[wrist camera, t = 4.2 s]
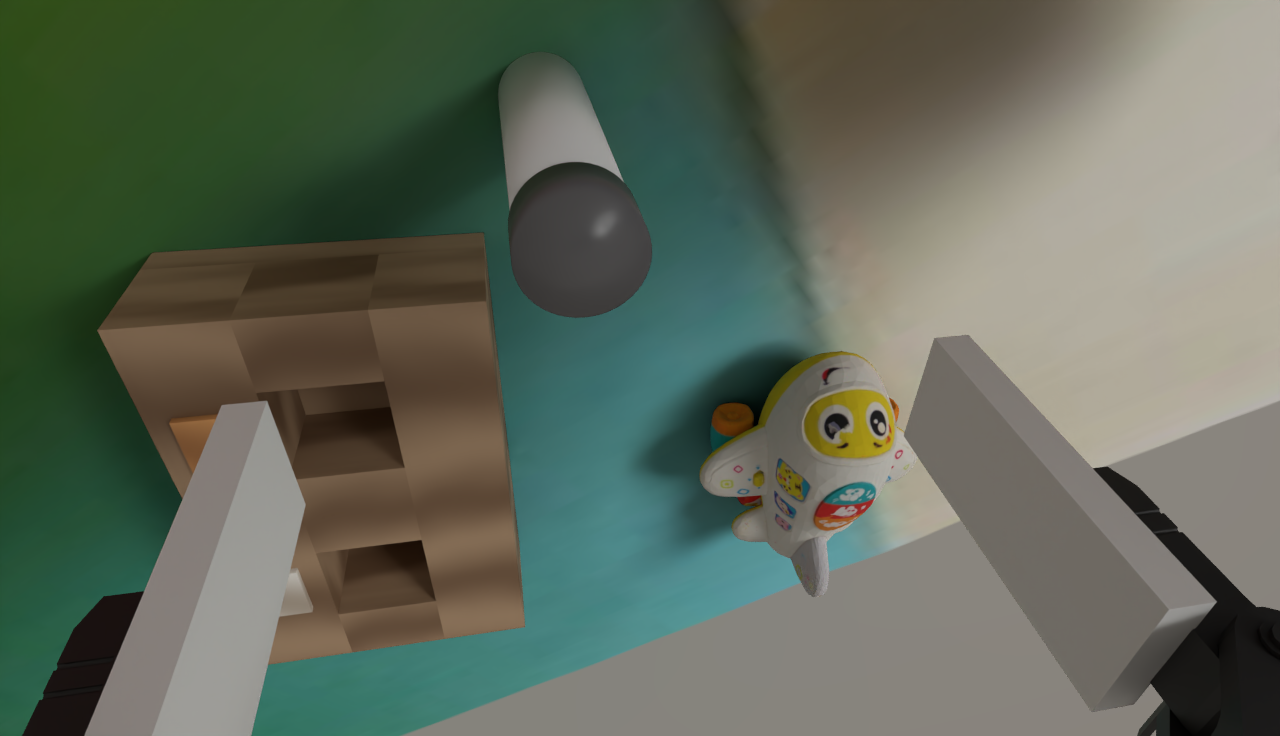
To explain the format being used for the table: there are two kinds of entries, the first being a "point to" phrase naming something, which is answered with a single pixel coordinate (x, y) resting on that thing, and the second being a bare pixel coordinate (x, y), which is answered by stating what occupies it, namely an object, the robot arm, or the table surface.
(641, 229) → the plug
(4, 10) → the table surface
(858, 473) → the toy airplane
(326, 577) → the socket block
